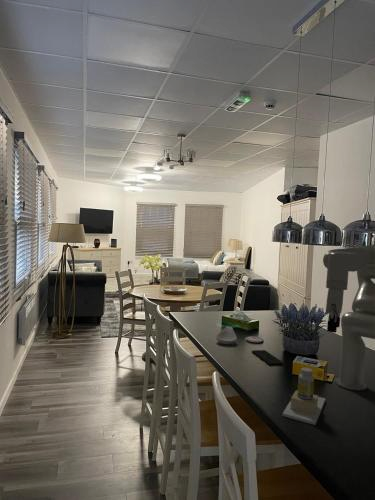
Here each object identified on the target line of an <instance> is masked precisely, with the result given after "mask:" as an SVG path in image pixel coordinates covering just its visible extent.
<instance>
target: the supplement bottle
mask: <svg viewBox="0 0 375 500" xmlns="http://www.w3.org/2000/svg"><path fill="white" fill-rule="evenodd" d="M297 381H298V383H297V391H298V396H300V397H302V398H305V399H311V398H313V395H314V390H315V389H314V387H315V377H314V375H313V369H312V368H310V367H302V368H300V373H299V374H298V380H297Z"/></svg>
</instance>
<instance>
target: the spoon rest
mask: <svg viewBox="0 0 375 500" xmlns="http://www.w3.org/2000/svg"><path fill="white" fill-rule="evenodd" d="M215 338H216V341H217V342H218V343H220V344H222V345H225V344H226V346H228V345H229V344H230V345H232V344H235V342H236V341H237V335H236V333H235V331H234V327H233V326H226V327H224V329H222V330H221V331H220V332H219V333H218V334H216V336H215Z"/></svg>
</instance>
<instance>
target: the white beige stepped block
mask: <svg viewBox="0 0 375 500" xmlns="http://www.w3.org/2000/svg"><path fill="white" fill-rule="evenodd" d="M325 403H326V398H324V397H321V396H319V395H317V394H313V398H311V399H305V398H302V397H300V396H298V389H297V390H295V391H294V393H293V394H292V395H291V397H290V401H289V402H288V404H287V406H286V407H285V409H284V410H283V412H282V417H285V418H288V419H292V420H295V421H299V422H302V423H306V424H309V425H312V426H316V424H317V422H318V420H319V416H320V415H321V413H322V410H323V407H324V404H325Z"/></svg>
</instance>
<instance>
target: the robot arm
mask: <svg viewBox="0 0 375 500" xmlns="http://www.w3.org/2000/svg"><path fill="white" fill-rule="evenodd" d="M322 263H323V266H324V267H325V268H326V270H327V271H326V280H325V281H326V283H325V288H326V289H328V290H327V295H326V297H327V298H326V304H325V305H326V306H325V314H326V315H328V320H327V327H326V331H327V332H328V333H329V332H330V333H335V334H336V333H337V329H338V328H341V349H340V360H339V361H340V363H339V374H338V375H339V376H338V377H335V378H334V383H335V384H336V385H337V386H339V387H341V388H343V389H346V390H352V391H357V392H359V391H365V390H366V389H367V387H368V385H367V384H366V383H365V382H364V373H365V372H364V371H365V362H366V361H365V360H366V347H367V346H366V344H365V341H364V339H363V338H367V339H371V340H375V282H374V281H373V280H375V245H371V244H367V245H361V246H356V247H349V248H348V247H346V248H335V249H329V250H328V251H326V252H325V253H324V255H323V258H322ZM349 272H350V273H351V272H354V273H355V272H356V276H357V283H358V289H357V291H356V294H355V296H354V298H353V301H352V304H351V311H349V312H348V311H347V312H345V313H343V315H342V316H341V314H342V311H343V304H344V303H343V302H344V293H345V292H344V291H347V290H348V285H349ZM372 279H373V280H372Z"/></svg>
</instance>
